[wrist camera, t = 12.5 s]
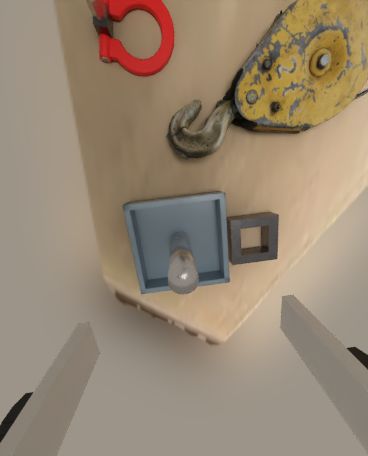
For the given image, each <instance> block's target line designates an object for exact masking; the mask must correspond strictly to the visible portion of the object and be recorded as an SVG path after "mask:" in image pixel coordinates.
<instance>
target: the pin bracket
mask: <svg viewBox="0 0 368 456" xmlns="http://www.w3.org/2000/svg"><path fill="white" fill-rule="evenodd" d="M278 219H279V215H278V214H275V213H272V212H265V213H257V214H250V215H242V216H234V217H226V221H227V240H228V259H229V261H230V262H231V263H232V265H236V264H244V263H251V262H259V261H266V260H274V259H277V251H278ZM259 226H261V247H253V248H245V249H241V235H240V229H243V228H251V227H259Z"/></svg>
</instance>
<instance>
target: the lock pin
mask: <svg viewBox="0 0 368 456" xmlns="http://www.w3.org/2000/svg"><path fill="white" fill-rule="evenodd" d="M198 284H199V276H198V272H197V268H196V264H195V260H194V256H193V252H192V248H191V244H190V240H189V237H188V235H187V234H186V233H184V232H176V233H174V234H173V235H172V236H171V238H170V252H169V268H168V285H169V287H170V288H171V290H173V291H174V292H176V293H178V294H187V293H190V292H192V291H194V290H195V289H196V287H197V286H198Z"/></svg>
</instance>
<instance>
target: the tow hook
mask: <svg viewBox="0 0 368 456" xmlns="http://www.w3.org/2000/svg"><path fill="white" fill-rule="evenodd" d="M86 1H87V4H88V6H89V8H90V10H91V12H92V15H93V24H94V26H95V29H96V31H97V33H98V35H99V49H100V59H101V60H102V61H104V62H107V63H110V62H111V60H113V61H118V62H119V63H120V64H121V66H123V67H124V68H125V69H126V70H128V71H129V72H131V73H134V74H136V75H141V76H148V75H153V74H155V73H157V72H159V71H161V70H162V69H163V68H164V67H165V65H166V64H167V63H168V61H169V59H170V57H171V54H172V51H173V47H174V28H173V23H172V19H171V17H170V14H169V12H168V10H167V8H166V7H165V5H164V4H163V2H162V1H161V0H86ZM137 8H139V9H144V10H146V11H148V12H150V13H151V14H152V15H153V16H154V17H155V18H156V20H157V21H158V23H159V25H160V28H161V31H162V42H161V46H160V48H159V50H158V52H157V53H156V54H155V55H154V56H152V57H151V58H149V59H144V60H143V59H137V58H135V57H133V56H131V55H130V54H129V53H128V52H127V51H126V50H125V49H124V47H123V46H122V44H121V42H120V41H119V40H117V39H112V19H114V20H119V21H120V20H122V18H123V16H124V15H125V14H126V13H127V12H129V11H130V10H132V9H137Z"/></svg>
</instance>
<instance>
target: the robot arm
mask: <svg viewBox="0 0 368 456" xmlns="http://www.w3.org/2000/svg"><path fill="white" fill-rule="evenodd" d="M281 330H282V331H283V332H284V334H285V335H286V337H287V338H288V340H289V341H290V343H291V344H292V345H293V347H294V348H295V350H296V351H297V353H298V354H299V355H300V357H301V358H302V360H303V361H304V363H305V364H306V365H307V367H308V368H309V370H310V371H311V373H312V374H313V376H314V377H315V379H316V380H317V381H318V383H319V384H320V386H321V387H322V389H323V390H324V391H325V393H326V394H327V396H328V397H329V399H330V400H331V401H332V403H333V404H334V406H335V407H336V409H337V410H338V412H339V413H340V415H341V416H342V417H343V419H344V420H345V422H346V423H347V425H348V426H349V427H350V429H351V430H352V432H353V433H354V434H355V436H356V438H357V439H358V440H359V442H360V443H361V445H362V446H363V448H364V449H365V450H366V452H367V453H368V355H367V354H365V353H364V352H362V351H361V350H359V349H358V348H356V347H351V348H346V347H345V346H344V345H343V344H342V343H341V342H340V341H339V340H338V339H337V338H336V337H335V336H334V335H333V334H332V333H331V332H330V331H329V330H327V328H326V327H325V326H324V325H323V324H322V323H321V322H320V321H319V320H318V319H317V318H316V317H315V316H314V315H313V314H312V313H311V312H310V311H309V310H308V309H307V308H306V307H305V306H304V305H303V304H302V303H301V302H300V301H299V300H298V299H297V298H296V297H295V296H294V295H288V296H283V297H282V309H281ZM99 354H100V351H99V348H98V345H97V342H96V339H95V336H94V333H93V330H92V327H91V325H90V322H86V323H79V324H78V325H77V326H76V328H75V329H74V331H73V333H72V334H71V335H70V337H69V339H68V340H67V342H66V343H65V345H64V346H63V348H62V349H61V351H60V352H59V354H58V356H57V357H56V359H55V360H54V362H53V363H52V365H51V366H50V368H49V369H48V371H47V372H46V374H45V376H44V377H43V378H42V380H41V382H40V383H39V385H38V386H37V388H36V389H35V391H34V392H32V393H26V394H25V395H24V396H23V397H22V398H21V399H20V400H19V401H18V402H17V403H16V404H15V405H14V406H13V407H12V409H11V410H10V412H9V413H8V414H7V416H6V417H5V418H4V420H3V421H2V424H1V425H0V456H57V454H58V452H59V449H60V447H61V444H62V442H63V440H64V437H65V435H66V433H67V430H68V428H69V425H70V423H71V421H72V418H73V416H74V413H75V411H76V409H77V406H78V404H79V402H80V399H81V397H82V395H83V392H84V390H85V387H86V385H87V383H88V380H89V378H90V376H91V373H92V371H93V368H94V366H95V364H96V361H97V359H98V357H99Z"/></svg>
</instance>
